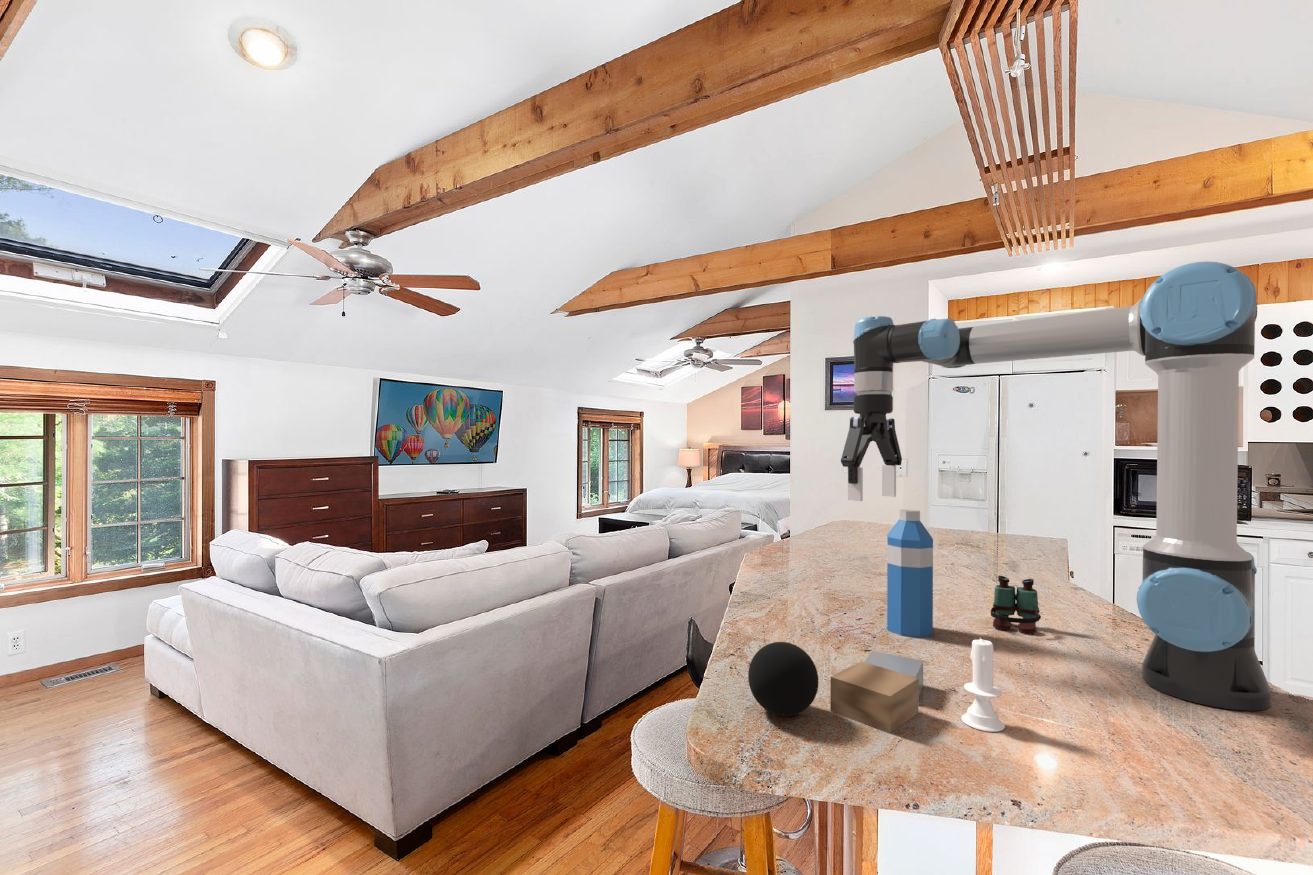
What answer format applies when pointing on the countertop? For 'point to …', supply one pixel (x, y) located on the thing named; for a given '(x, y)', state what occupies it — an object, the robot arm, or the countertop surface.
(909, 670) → the slate block
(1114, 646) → the countertop surface
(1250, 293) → the robot arm
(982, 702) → the candle
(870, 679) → the walnut block
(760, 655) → the decorative ball
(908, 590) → the water bottle
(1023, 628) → the binoculars
